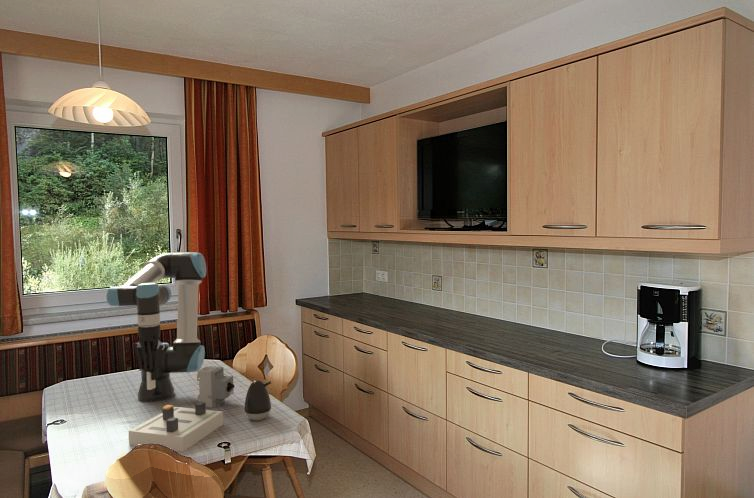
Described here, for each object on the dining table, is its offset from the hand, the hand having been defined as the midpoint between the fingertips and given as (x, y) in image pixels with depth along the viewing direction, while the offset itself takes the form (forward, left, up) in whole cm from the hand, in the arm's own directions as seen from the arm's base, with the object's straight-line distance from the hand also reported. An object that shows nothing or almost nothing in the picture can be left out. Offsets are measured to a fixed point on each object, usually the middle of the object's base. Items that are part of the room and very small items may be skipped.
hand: (151, 388), depth 189 cm
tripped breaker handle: (+7, 0, -11) cm, 13 cm away
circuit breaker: (+7, +31, -17) cm, 36 cm away
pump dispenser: (+32, +21, -16) cm, 42 cm away
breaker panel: (+11, 0, -16) cm, 20 cm away
